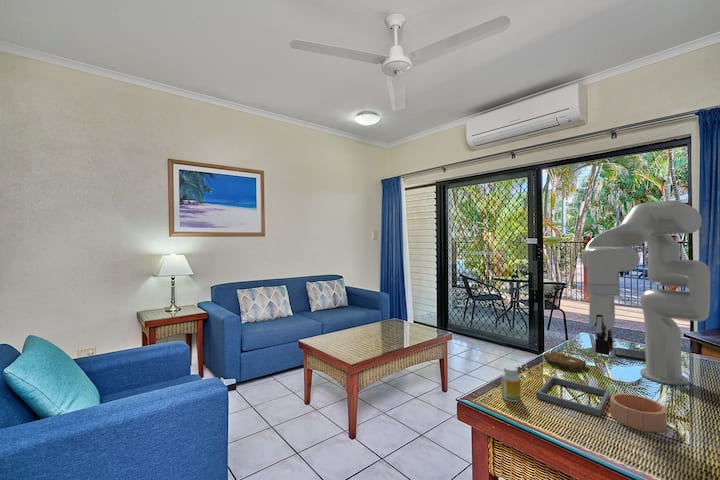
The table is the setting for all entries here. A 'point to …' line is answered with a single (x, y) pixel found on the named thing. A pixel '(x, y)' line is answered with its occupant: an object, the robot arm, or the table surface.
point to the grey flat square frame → (572, 404)
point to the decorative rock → (565, 361)
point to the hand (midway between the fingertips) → (604, 350)
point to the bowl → (638, 412)
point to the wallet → (628, 354)
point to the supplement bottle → (511, 384)
